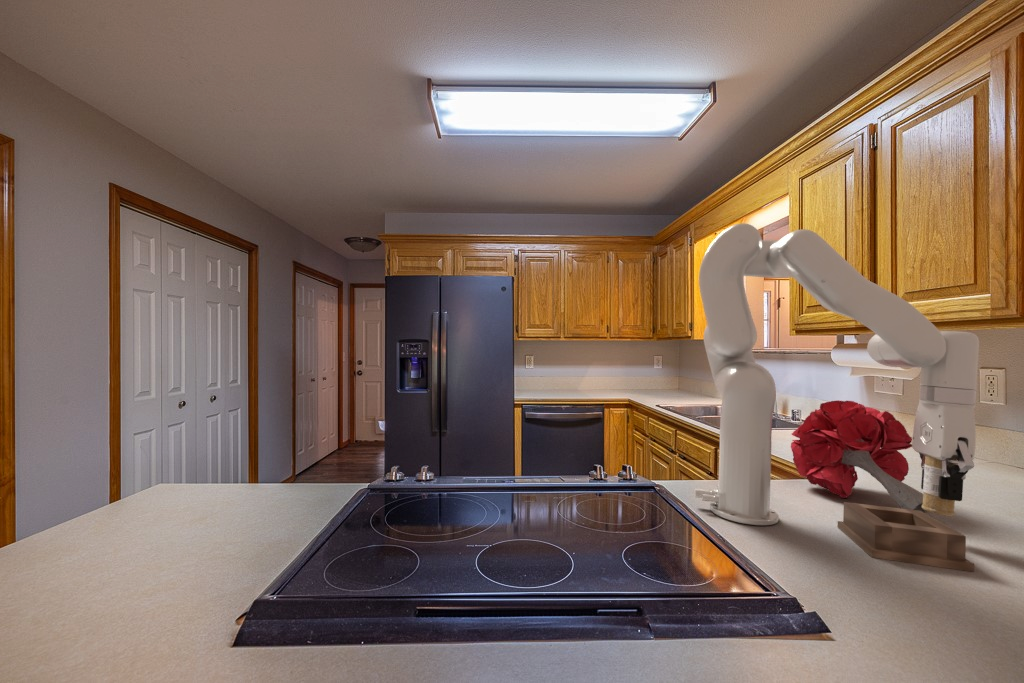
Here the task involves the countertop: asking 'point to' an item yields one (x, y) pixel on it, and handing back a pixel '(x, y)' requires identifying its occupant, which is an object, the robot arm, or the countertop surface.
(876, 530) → the socket block
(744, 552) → the countertop surface
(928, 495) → the sprinkles bottle
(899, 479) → the bouquet
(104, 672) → the countertop surface
